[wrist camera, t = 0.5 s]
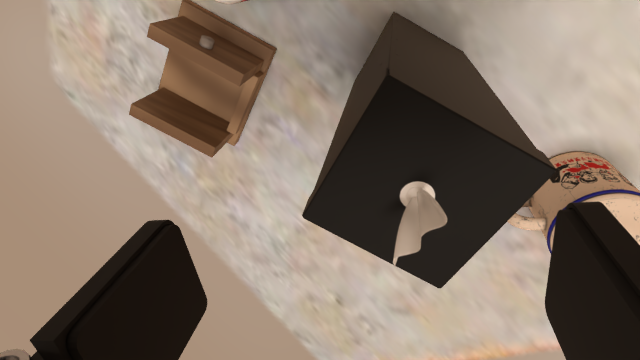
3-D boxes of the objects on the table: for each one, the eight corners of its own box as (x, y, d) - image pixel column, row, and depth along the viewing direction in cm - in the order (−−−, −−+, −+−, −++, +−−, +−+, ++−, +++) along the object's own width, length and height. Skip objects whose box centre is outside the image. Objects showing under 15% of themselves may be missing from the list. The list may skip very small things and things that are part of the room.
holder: (187, -1, 39) (147, 5, 33) (276, 48, 40) (254, 64, 33) (160, 101, 45) (121, 122, 39) (237, 141, 46) (212, 169, 39)
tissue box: (352, 83, 40) (283, 262, 16) (393, 9, 36) (384, 99, 12) (418, 119, 41) (447, 345, 16) (465, 51, 37) (595, 217, 13)
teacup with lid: (628, 146, 38) (710, 211, 28) (606, 222, 42) (670, 302, 32) (497, 150, 41) (530, 210, 31) (489, 221, 45) (515, 295, 35)
